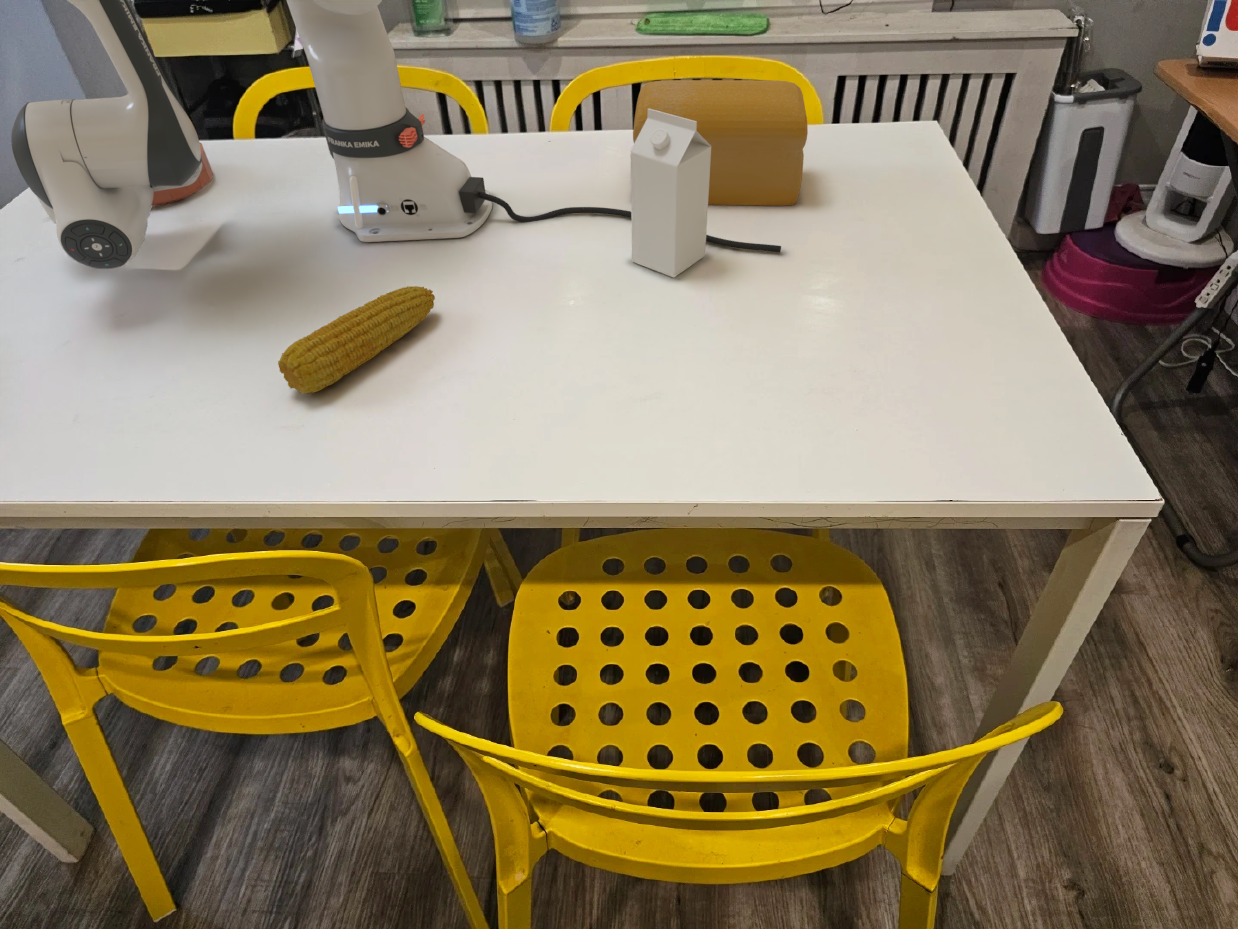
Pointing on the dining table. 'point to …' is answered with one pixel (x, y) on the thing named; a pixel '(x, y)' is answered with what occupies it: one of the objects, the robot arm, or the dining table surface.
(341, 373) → the food
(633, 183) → the milk carton
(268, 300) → the dining table surface
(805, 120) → the bread
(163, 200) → the bowl
